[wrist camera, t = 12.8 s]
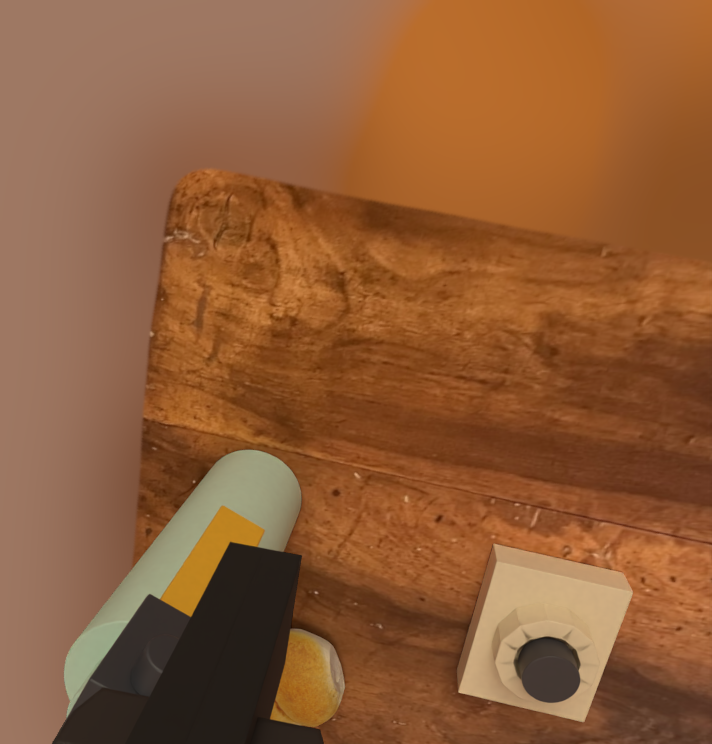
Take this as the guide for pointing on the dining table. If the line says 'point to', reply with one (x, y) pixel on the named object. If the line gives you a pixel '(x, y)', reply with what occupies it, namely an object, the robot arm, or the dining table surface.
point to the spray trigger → (209, 558)
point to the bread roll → (308, 681)
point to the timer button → (548, 670)
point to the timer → (540, 625)
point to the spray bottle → (160, 565)
